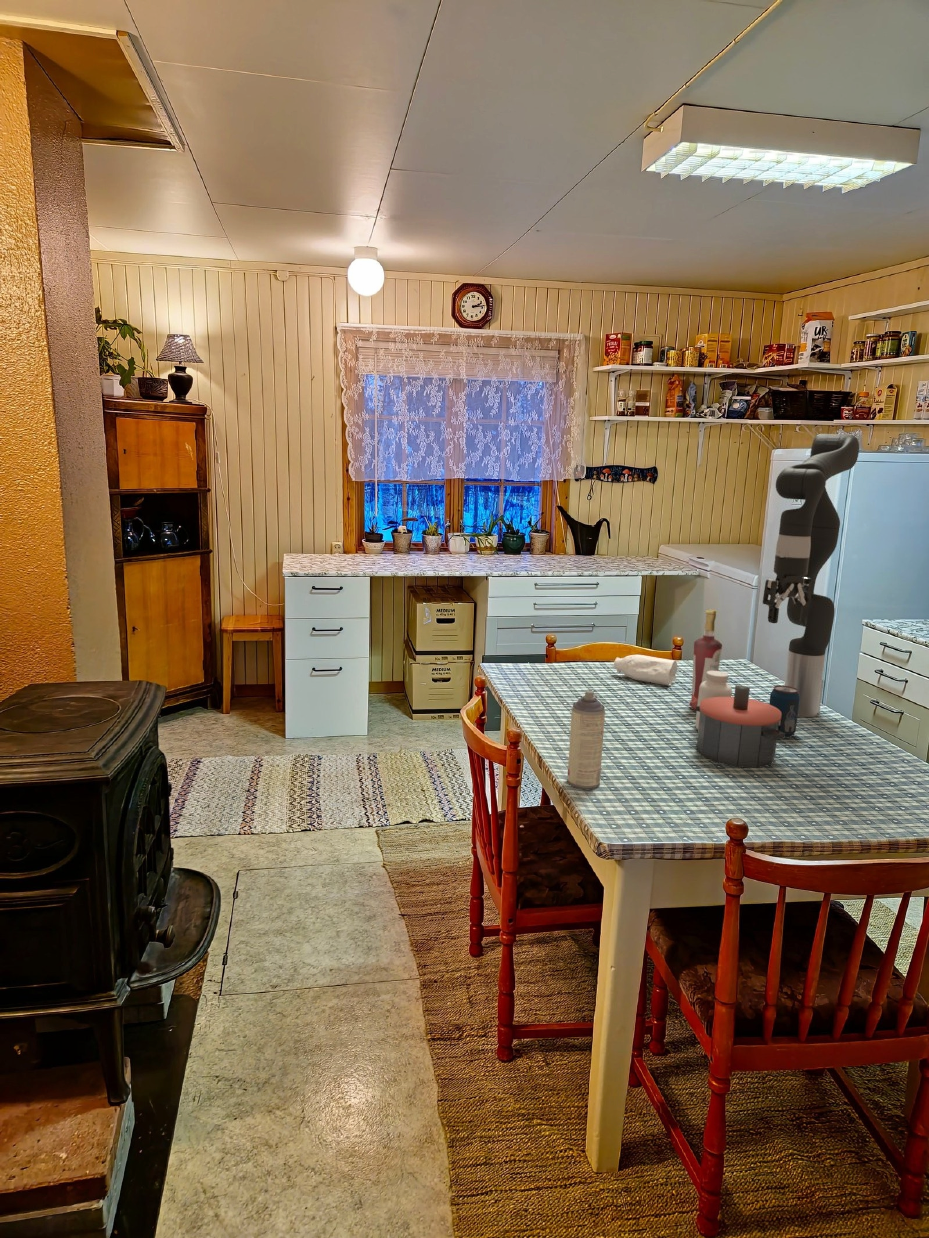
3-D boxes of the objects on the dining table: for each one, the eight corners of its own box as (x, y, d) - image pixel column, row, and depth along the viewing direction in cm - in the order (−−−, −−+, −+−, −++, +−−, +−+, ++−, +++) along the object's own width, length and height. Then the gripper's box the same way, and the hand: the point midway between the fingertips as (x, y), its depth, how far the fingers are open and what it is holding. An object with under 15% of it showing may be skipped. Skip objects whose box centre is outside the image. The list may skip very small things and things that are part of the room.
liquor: (705, 715, 218) (715, 614, 212) (682, 709, 223) (691, 609, 217) (720, 711, 222) (730, 611, 217) (697, 704, 228) (706, 606, 222)
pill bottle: (729, 736, 202) (735, 678, 199) (696, 733, 204) (701, 675, 201) (725, 726, 210) (731, 670, 207) (693, 723, 211) (699, 667, 208)
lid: (736, 701, 200) (739, 673, 199) (797, 723, 185) (801, 693, 184) (683, 710, 192) (685, 681, 190) (743, 734, 176) (746, 703, 175)
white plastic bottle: (619, 673, 259) (621, 649, 257) (677, 683, 249) (679, 658, 247) (609, 678, 252) (611, 653, 251) (668, 689, 242) (670, 663, 241)
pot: (723, 733, 204) (727, 695, 202) (800, 764, 185) (805, 723, 183) (673, 743, 196) (677, 703, 194) (748, 777, 176) (753, 733, 174)
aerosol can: (595, 776, 174) (601, 687, 170) (603, 789, 167) (610, 696, 163) (563, 776, 173) (569, 686, 169) (571, 789, 166) (577, 696, 162)
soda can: (773, 727, 210) (778, 683, 208) (799, 734, 205) (805, 689, 203) (761, 733, 205) (766, 687, 203) (787, 740, 200) (793, 694, 198)
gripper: (798, 551, 198) (791, 616, 201) (759, 553, 191) (751, 620, 194) (825, 555, 192) (817, 622, 195) (785, 557, 185) (777, 626, 188)
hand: (784, 621), depth 194 cm, fingers open, 8 cm apart
